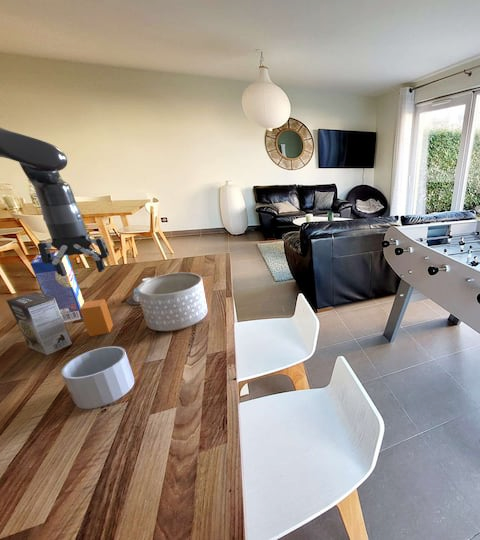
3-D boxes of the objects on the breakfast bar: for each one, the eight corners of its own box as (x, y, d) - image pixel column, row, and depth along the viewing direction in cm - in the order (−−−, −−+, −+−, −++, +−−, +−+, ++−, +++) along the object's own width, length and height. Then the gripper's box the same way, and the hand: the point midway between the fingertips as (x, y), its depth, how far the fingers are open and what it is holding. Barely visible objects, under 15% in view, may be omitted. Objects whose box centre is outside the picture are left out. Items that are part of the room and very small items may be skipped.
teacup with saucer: (163, 300, 114) (159, 282, 111) (125, 308, 107) (119, 289, 104) (162, 289, 123) (158, 272, 120) (127, 295, 116) (122, 277, 114)
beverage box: (85, 305, 108) (65, 250, 100) (83, 318, 100) (61, 259, 92) (60, 311, 104) (37, 253, 96) (55, 324, 96) (30, 263, 88)
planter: (211, 325, 99) (204, 288, 94) (145, 340, 90) (134, 300, 85) (205, 302, 114) (199, 269, 109) (148, 313, 105) (139, 277, 99)
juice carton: (89, 336, 91) (79, 309, 87) (94, 328, 95) (84, 301, 91) (109, 332, 93) (100, 305, 89) (113, 325, 97) (104, 299, 93)
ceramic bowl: (66, 415, 64) (52, 384, 61) (84, 381, 74) (72, 353, 70) (129, 399, 69) (119, 369, 66) (138, 369, 78) (129, 342, 75)
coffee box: (27, 348, 85) (4, 300, 78) (55, 336, 90) (36, 290, 84) (46, 356, 82) (23, 306, 76) (73, 343, 87) (54, 296, 81)
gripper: (100, 215, 86) (116, 265, 92) (35, 218, 80) (56, 272, 86) (93, 221, 80) (109, 274, 86) (21, 224, 74) (45, 281, 80)
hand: (83, 273), depth 86 cm, fingers open, 8 cm apart
